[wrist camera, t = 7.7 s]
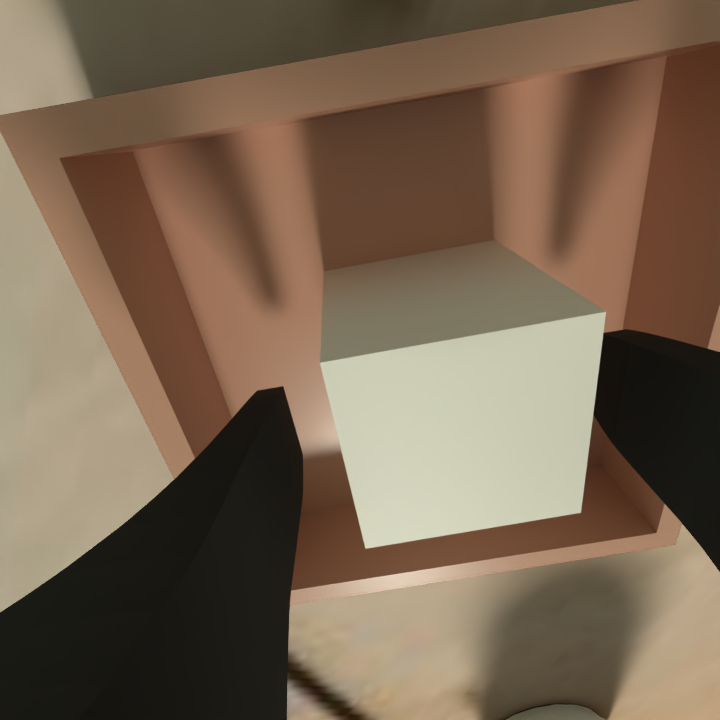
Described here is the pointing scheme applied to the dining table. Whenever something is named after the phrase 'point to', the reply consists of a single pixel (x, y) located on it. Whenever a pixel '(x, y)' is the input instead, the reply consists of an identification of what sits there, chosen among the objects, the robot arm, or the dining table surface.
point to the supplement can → (557, 713)
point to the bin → (393, 236)
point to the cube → (459, 390)
